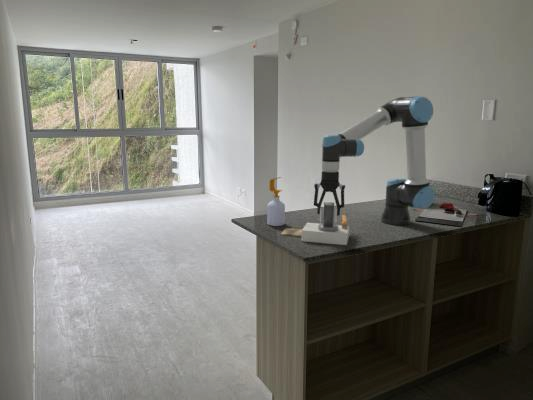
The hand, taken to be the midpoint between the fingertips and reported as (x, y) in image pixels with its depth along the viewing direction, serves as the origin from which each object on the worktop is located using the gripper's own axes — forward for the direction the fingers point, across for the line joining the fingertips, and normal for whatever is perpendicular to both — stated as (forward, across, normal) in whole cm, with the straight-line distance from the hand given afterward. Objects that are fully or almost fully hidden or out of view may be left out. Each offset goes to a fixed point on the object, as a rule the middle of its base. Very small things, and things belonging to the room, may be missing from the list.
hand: (328, 221), depth 184 cm
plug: (+8, 0, 0) cm, 8 cm away
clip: (+2, -6, -10) cm, 12 cm away
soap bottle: (+9, +29, -20) cm, 36 cm away
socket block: (+8, +1, -2) cm, 9 cm away
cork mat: (+8, +17, -6) cm, 20 cm away
